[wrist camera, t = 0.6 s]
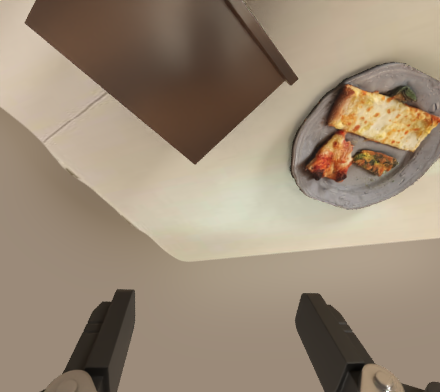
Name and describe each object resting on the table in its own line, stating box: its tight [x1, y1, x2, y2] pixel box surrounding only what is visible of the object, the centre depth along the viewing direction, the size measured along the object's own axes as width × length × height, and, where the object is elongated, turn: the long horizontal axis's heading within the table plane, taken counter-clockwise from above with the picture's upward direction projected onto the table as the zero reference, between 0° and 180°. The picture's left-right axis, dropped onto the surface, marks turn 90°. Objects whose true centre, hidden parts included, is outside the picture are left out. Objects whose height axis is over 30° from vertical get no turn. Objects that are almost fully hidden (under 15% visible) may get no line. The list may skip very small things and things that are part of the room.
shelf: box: [25, 0, 298, 164], centre depth 26 cm, size 18×13×15 cm
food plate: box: [290, 62, 440, 210], centre depth 41 cm, size 25×23×4 cm
